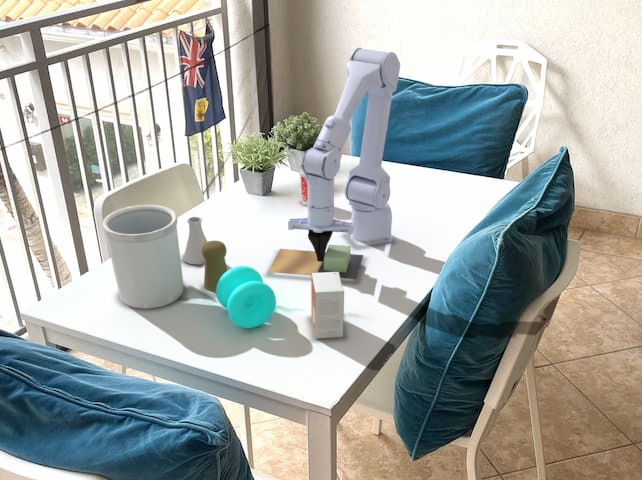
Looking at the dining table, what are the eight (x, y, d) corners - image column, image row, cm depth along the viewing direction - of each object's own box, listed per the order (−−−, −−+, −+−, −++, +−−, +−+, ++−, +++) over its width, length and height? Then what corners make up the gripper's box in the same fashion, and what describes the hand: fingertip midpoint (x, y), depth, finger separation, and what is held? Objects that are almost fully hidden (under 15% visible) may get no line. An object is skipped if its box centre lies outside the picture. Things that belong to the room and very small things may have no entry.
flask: (219, 255, 167) (216, 216, 161) (203, 267, 161) (199, 228, 156) (194, 249, 169) (189, 211, 164) (177, 262, 164) (172, 222, 158)
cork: (226, 297, 150) (222, 250, 144) (200, 294, 151) (194, 248, 145) (235, 283, 155) (231, 238, 149) (209, 281, 156) (204, 236, 150)
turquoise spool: (231, 335, 137) (227, 291, 131) (216, 311, 144) (212, 268, 139) (279, 324, 140) (277, 280, 135) (261, 301, 148) (259, 259, 142)
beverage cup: (308, 196, 197) (307, 147, 189) (326, 201, 194) (326, 152, 186) (295, 203, 192) (294, 154, 185) (313, 208, 189) (312, 158, 182)
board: (268, 275, 157) (268, 271, 157) (280, 252, 167) (280, 248, 167) (356, 283, 154) (356, 279, 154) (363, 258, 164) (363, 254, 163)
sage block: (324, 270, 157) (324, 256, 155) (328, 258, 162) (329, 244, 160) (346, 272, 156) (346, 258, 154) (350, 259, 161) (350, 246, 159)
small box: (311, 318, 142) (310, 272, 136) (338, 316, 142) (339, 270, 137) (314, 339, 135) (314, 292, 130) (343, 337, 136) (344, 290, 130)
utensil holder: (156, 317, 143) (144, 239, 133) (101, 300, 149) (86, 224, 139) (199, 286, 154) (191, 212, 144) (147, 271, 160) (136, 199, 150)
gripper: (284, 208, 150) (286, 265, 157) (351, 213, 148) (349, 270, 155) (291, 196, 156) (292, 251, 163) (355, 200, 153) (354, 256, 161)
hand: (320, 259), depth 159 cm, fingers closed
